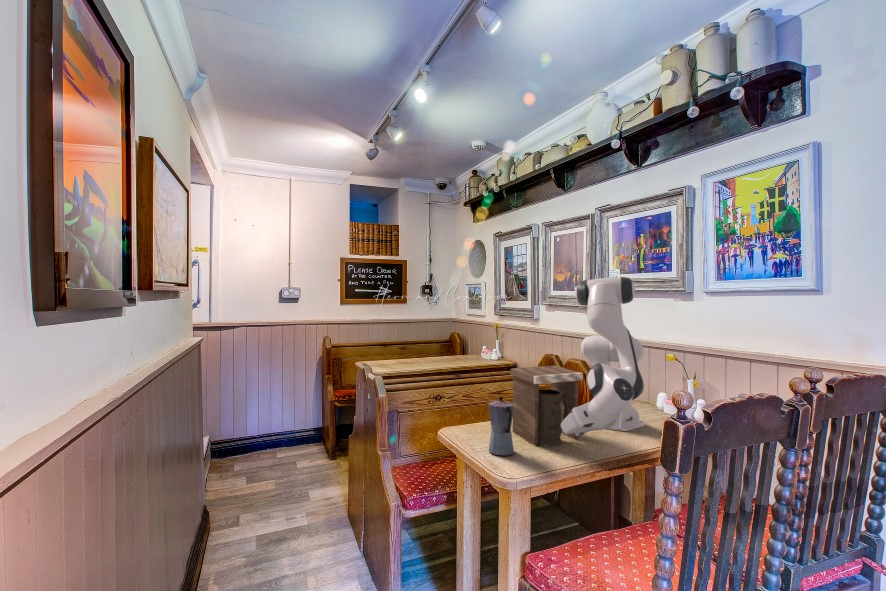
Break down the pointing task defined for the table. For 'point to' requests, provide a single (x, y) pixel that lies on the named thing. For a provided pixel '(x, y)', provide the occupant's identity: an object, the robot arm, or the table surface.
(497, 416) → the moka pot
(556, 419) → the beer stein
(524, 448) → the table surface
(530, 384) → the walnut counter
